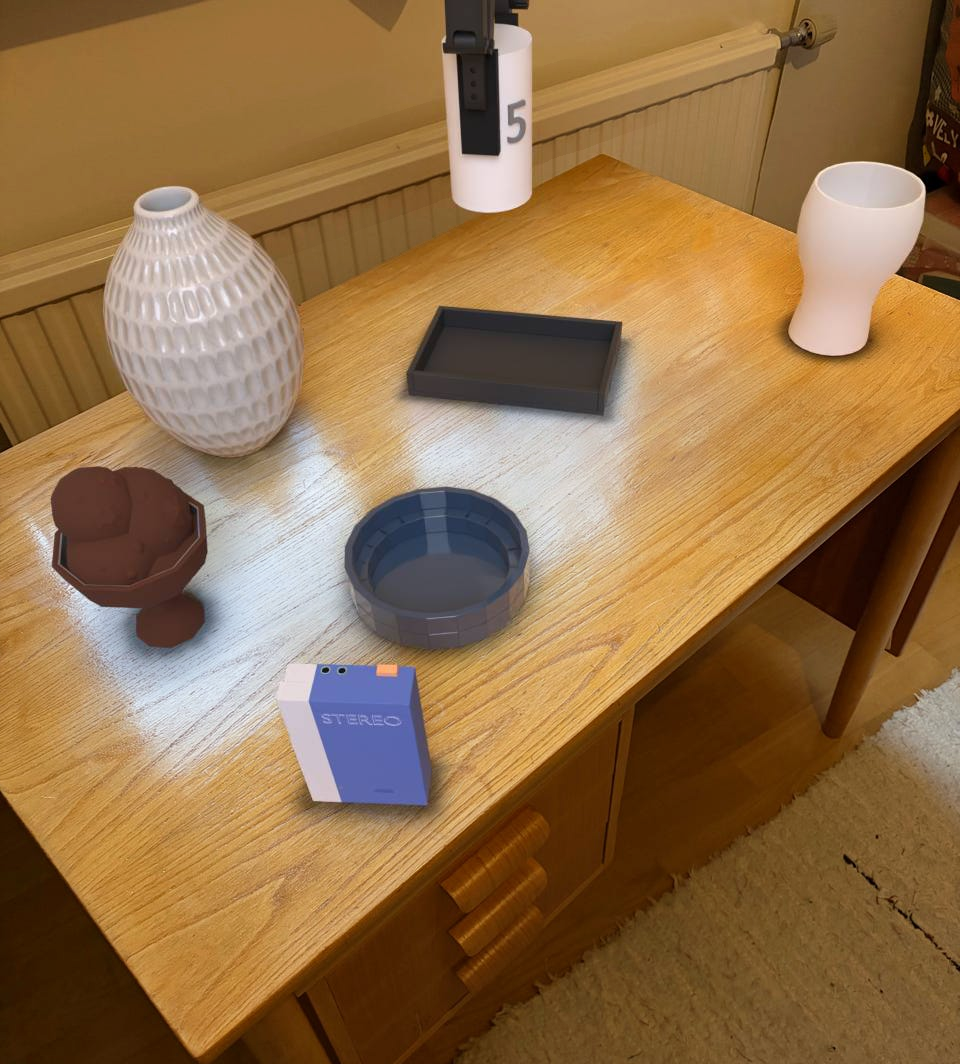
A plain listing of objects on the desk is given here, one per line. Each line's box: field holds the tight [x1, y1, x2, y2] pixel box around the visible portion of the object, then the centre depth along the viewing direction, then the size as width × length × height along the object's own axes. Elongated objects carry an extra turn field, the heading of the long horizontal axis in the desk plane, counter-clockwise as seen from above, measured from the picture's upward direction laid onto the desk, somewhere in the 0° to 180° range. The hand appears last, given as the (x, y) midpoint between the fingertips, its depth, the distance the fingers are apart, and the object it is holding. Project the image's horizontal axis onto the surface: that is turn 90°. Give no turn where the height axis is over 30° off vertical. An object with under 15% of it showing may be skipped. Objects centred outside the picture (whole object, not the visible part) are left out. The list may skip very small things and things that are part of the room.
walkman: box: [275, 662, 433, 806], centre depth 57 cm, size 8×3×12 cm, turn 86°
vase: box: [102, 185, 306, 459], centre depth 78 cm, size 16×16×22 cm
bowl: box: [343, 486, 531, 651], centre depth 71 cm, size 14×14×4 cm
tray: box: [406, 305, 623, 416], centre depth 90 cm, size 19×12×2 cm, turn 77°
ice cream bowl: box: [50, 465, 209, 649], centre depth 66 cm, size 11×11×15 cm
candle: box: [440, 21, 533, 214], centre depth 65 cm, size 6×6×15 cm
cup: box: [787, 161, 927, 357], centre depth 87 cm, size 11×11×15 cm
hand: (491, 131), depth 67 cm, fingers closed on candle, 6 cm apart
